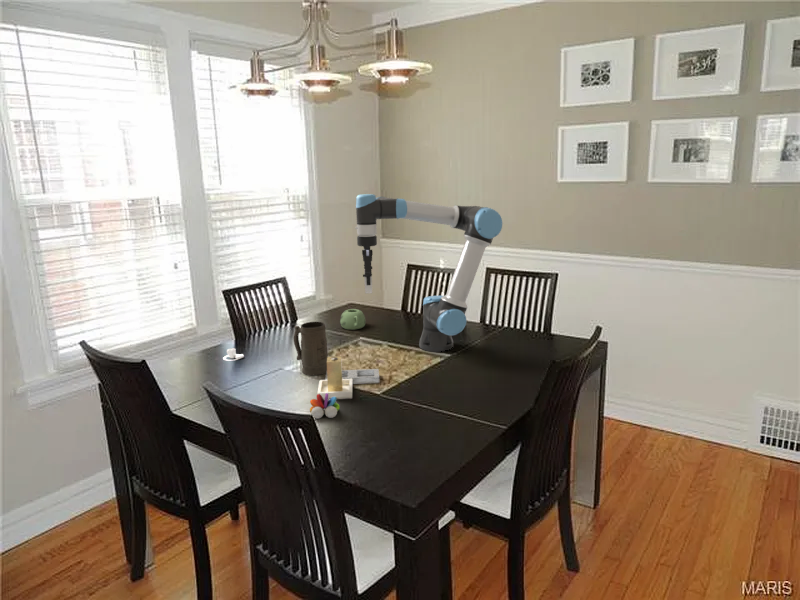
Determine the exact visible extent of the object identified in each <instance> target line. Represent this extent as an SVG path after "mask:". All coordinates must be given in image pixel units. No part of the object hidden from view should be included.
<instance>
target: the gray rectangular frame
mask: <svg viewBox="0 0 800 600" xmlns="http://www.w3.org/2000/svg"><path fill="white" fill-rule="evenodd" d="M379 370H380V369H379V368H369V369H368V368H367V369H342V379H352V383H353V385H358V384H359V385H360V384H362V385H363V384H380V372H379ZM324 377H325V378H324V380H327V371H326V373H325V376H324Z"/></svg>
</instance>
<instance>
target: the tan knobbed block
mask: <svg viewBox="0 0 800 600" xmlns="http://www.w3.org/2000/svg"><path fill="white" fill-rule="evenodd" d="M342 360H343V359H342V356H328V357H327V380H328V392H334V391H343V382H342V370H343V363H342V362H343V361H342Z"/></svg>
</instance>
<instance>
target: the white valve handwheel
mask: <svg viewBox="0 0 800 600" xmlns="http://www.w3.org/2000/svg"><path fill="white" fill-rule="evenodd" d="M226 354H227V355H225V356H224V357H222V359H223V360H224V361H227V362H230V361H231V362H233V361H237V360H240V359H241V360H242V359H243V358H244V357H245V355H244V353H241V354H239V353H237V351H236V348H234V347H233V348H231V347H230V348H228V349H226ZM228 357H229V359H227V358H228Z"/></svg>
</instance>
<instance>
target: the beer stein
mask: <svg viewBox="0 0 800 600" xmlns="http://www.w3.org/2000/svg"><path fill="white" fill-rule="evenodd" d="M326 329H327V327H326V324H325V323H324V322H322V321H309V322H305V323H302V324H301V325H300V326H299V325H295V326H294V333H293V339H292V340H293V344H294V347H295V348H294V349H295V350H296V354H297V356H296V361H301V365H302V367H301V372H302V374H303V375H306V376H319V375H320V376H321V375H324V374H326V371H327V357H329V353H328V339H327V333H326ZM299 335H300V338H301V339H300V338H299Z"/></svg>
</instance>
